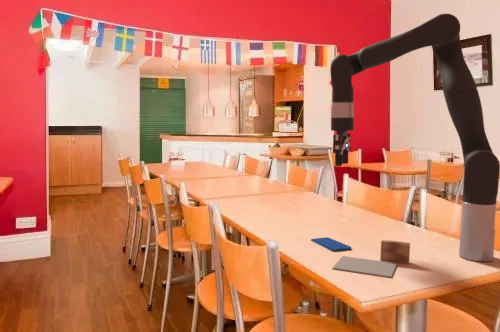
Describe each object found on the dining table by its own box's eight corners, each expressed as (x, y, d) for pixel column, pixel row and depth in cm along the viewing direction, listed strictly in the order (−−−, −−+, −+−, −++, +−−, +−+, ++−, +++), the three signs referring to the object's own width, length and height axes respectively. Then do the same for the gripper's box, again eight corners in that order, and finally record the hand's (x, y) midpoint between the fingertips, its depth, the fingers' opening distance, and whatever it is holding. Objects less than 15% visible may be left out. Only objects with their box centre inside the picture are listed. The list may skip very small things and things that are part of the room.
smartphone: (327, 237, 160) (352, 247, 146) (327, 239, 160) (352, 250, 146) (309, 239, 157) (333, 249, 143) (309, 241, 157) (333, 252, 143)
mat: (396, 264, 131) (397, 263, 131) (391, 277, 120) (391, 276, 120) (342, 257, 138) (342, 255, 138) (332, 269, 127) (332, 267, 127)
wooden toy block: (409, 262, 133) (410, 242, 133) (408, 264, 131) (409, 244, 131) (381, 258, 137) (382, 239, 136) (380, 260, 135) (381, 241, 134)
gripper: (348, 116, 142) (347, 167, 144) (358, 116, 155) (357, 163, 156) (325, 116, 145) (325, 166, 147) (336, 116, 158) (336, 162, 160)
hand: (341, 164), depth 152 cm, fingers open, 8 cm apart
